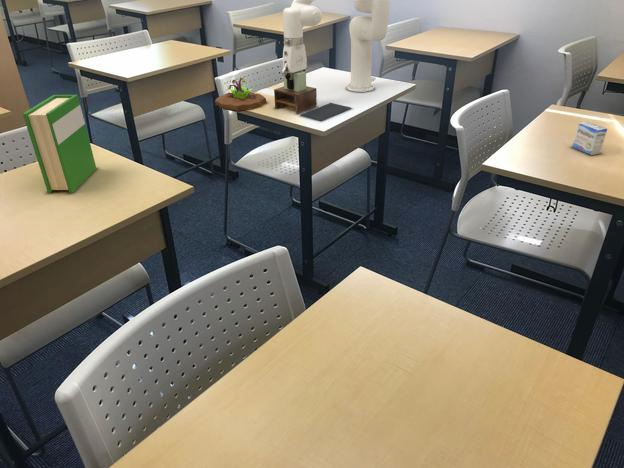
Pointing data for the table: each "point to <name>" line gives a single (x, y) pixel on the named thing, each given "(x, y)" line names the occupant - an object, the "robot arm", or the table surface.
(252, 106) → the plant
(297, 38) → the robot arm
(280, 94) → the shelf
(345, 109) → the desk pad
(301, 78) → the green square container
